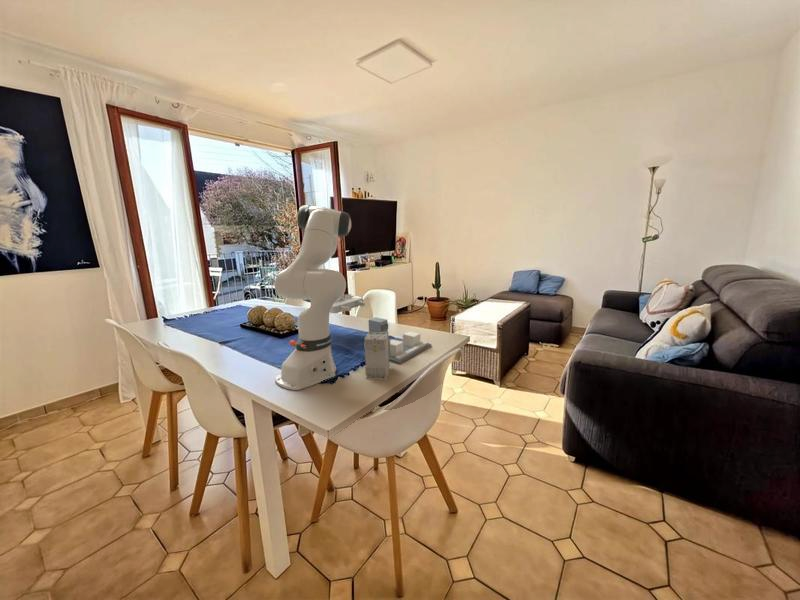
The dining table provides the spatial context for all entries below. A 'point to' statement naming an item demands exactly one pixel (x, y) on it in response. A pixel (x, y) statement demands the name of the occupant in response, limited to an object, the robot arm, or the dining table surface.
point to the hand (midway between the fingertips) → (357, 306)
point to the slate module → (378, 325)
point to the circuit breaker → (377, 355)
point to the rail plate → (406, 347)
